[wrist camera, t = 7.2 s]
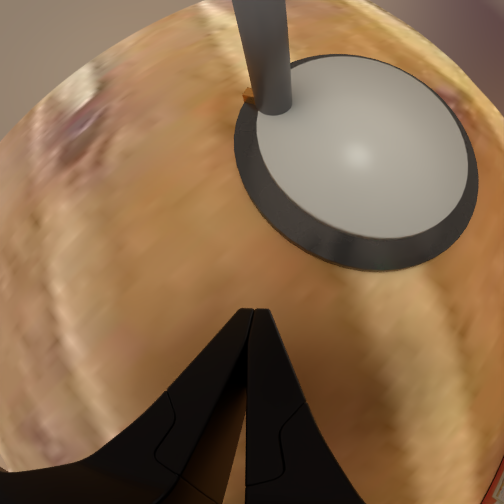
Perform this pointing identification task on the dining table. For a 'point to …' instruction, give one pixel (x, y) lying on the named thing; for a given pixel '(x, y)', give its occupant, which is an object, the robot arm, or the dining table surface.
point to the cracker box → (496, 488)
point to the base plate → (331, 241)
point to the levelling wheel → (350, 135)
